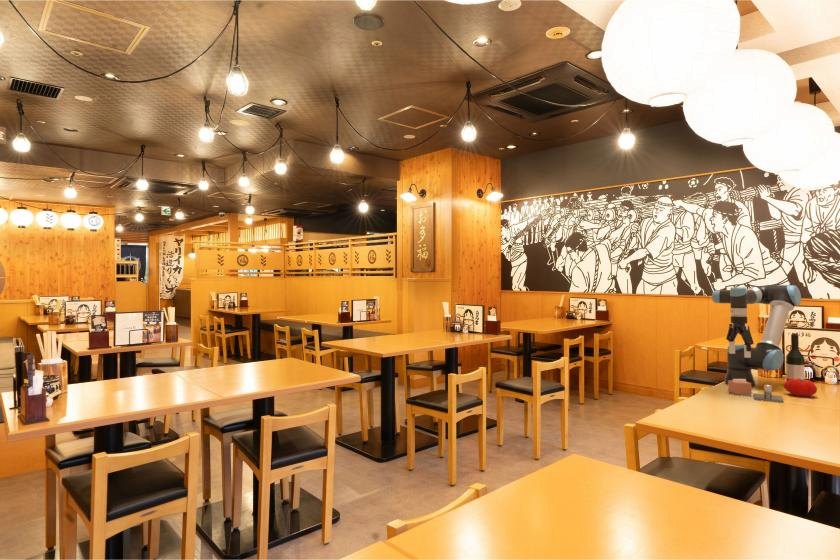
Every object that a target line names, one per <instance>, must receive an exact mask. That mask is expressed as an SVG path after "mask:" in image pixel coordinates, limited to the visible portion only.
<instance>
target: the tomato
mask: <svg viewBox="0 0 840 560" xmlns="http://www.w3.org/2000/svg"><path fill="white" fill-rule="evenodd" d="M783 387H784V389H785V391H786V392H788V393H789V394H791V395H794V396H795V397H811V396H813V395H815V394H816V393H817V392H818V391H817V390H818V388H817V385H816V384H815V383H814V382H813V381H812V380H809V379H805V380H804V379H803V380H801V379H789V380H787V379H786V380H785V382H784V385H783Z"/></svg>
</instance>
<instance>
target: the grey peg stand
mask: <svg viewBox="0 0 840 560" xmlns="http://www.w3.org/2000/svg"><path fill="white" fill-rule="evenodd" d="M772 387H773V386H772V385H771V384H763V394H762V393H754V392H753V393H752V394H753V400H754V401H761V400H765V401H764V402H771V401H773V403H781V404H783V403H784V402H785V401H784V399H783V396H782V395H775V394H773V393H772V392H773V388H772Z"/></svg>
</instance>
